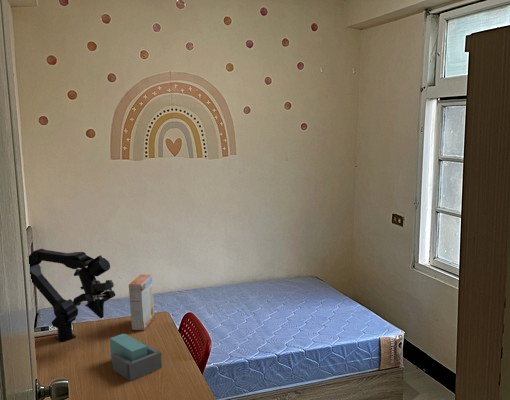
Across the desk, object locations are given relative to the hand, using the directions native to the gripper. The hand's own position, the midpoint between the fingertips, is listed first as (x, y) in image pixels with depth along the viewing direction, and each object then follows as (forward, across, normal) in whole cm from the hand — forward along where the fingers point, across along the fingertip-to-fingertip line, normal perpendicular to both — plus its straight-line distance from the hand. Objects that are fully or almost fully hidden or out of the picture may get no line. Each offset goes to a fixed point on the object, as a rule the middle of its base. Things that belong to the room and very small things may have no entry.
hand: (102, 317), depth 196 cm
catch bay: (+24, -6, -11) cm, 27 cm away
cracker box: (+6, +28, +3) cm, 28 cm away
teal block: (+22, -5, -8) cm, 24 cm away
